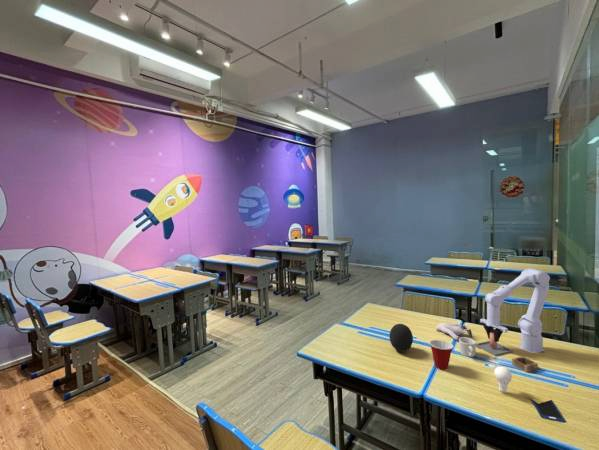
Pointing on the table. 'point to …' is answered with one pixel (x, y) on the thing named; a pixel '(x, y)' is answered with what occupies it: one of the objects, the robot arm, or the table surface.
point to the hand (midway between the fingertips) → (493, 339)
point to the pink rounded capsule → (492, 341)
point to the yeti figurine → (453, 330)
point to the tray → (493, 351)
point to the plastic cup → (441, 353)
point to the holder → (524, 364)
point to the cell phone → (549, 411)
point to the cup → (467, 346)
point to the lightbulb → (503, 378)
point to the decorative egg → (401, 337)
